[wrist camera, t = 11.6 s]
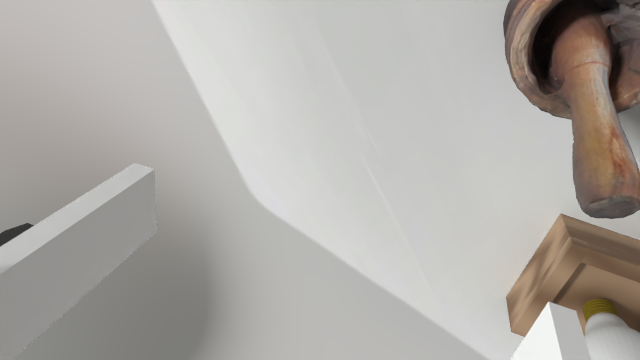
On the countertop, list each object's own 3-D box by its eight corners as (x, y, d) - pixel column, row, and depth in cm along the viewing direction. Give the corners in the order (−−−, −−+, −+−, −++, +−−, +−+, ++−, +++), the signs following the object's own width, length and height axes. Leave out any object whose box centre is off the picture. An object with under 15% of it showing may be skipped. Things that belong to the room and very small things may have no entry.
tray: (560, 213, 41) (572, 243, 37) (688, 257, 39) (717, 294, 35) (506, 297, 47) (511, 331, 43) (614, 338, 46) (631, 378, 41)
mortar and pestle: (633, 79, 34) (805, 191, 17) (523, 118, 38) (575, 242, 21) (595, -61, 31) (760, -93, 14) (479, -3, 35) (499, 28, 18)
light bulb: (614, 270, 38) (659, 359, 29) (644, 315, 39) (696, 413, 31) (549, 292, 41) (573, 378, 32) (579, 333, 42) (610, 427, 33)
